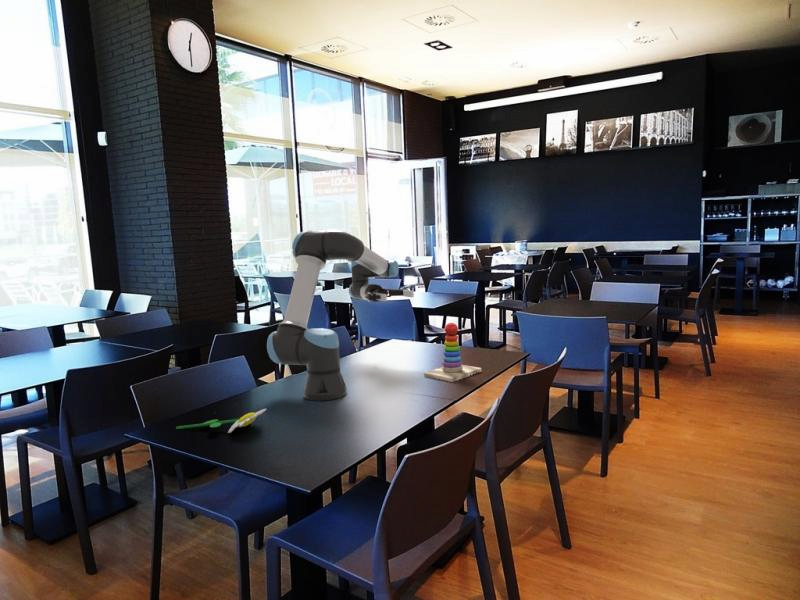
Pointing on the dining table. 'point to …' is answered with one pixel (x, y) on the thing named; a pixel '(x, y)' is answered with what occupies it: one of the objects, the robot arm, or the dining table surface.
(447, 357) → the stacking toy
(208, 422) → the decorative flower
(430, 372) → the folded striped towel
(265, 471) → the dining table surface
